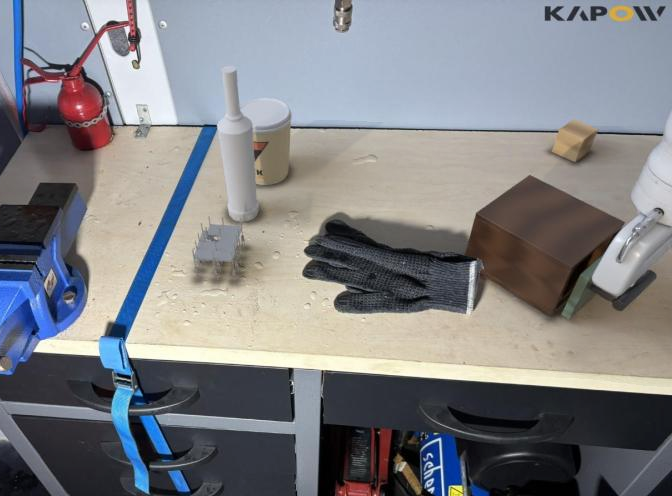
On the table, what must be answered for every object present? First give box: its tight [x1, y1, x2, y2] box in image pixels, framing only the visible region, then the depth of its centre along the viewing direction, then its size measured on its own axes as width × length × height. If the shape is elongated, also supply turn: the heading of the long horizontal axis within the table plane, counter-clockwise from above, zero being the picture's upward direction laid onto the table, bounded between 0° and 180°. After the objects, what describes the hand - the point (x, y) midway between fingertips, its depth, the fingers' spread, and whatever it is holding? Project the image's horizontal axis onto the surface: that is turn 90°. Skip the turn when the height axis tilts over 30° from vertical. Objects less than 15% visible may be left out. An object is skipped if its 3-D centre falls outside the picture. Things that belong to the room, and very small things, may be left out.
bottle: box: [216, 65, 260, 223], centre depth 91 cm, size 5×5×25 cm
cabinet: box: [464, 174, 626, 318], centre depth 85 cm, size 15×13×10 cm
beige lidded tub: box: [240, 97, 293, 186], centre depth 103 cm, size 9×9×12 cm
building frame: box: [191, 216, 246, 283], centre depth 90 cm, size 6×8×6 cm
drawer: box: [559, 235, 658, 320], centre depth 82 cm, size 18×11×8 cm, turn 40°
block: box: [551, 119, 599, 163], centre depth 106 cm, size 5×5×5 cm
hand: (630, 279), depth 77 cm, fingers closed
